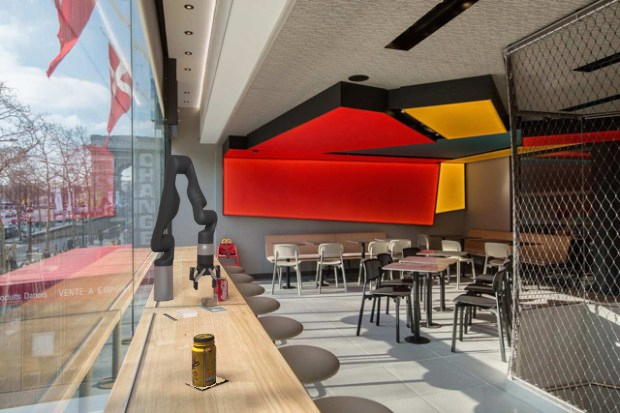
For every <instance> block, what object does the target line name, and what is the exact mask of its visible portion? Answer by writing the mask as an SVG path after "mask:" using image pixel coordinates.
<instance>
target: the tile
mask: <svg viewBox="0 0 620 413" xmlns="http://www.w3.org/2000/svg"><path fill="white" fill-rule="evenodd" d="M198 314H199V313H198V311H197V310H194V309H193V308H190V307H188V308H187V307H186V308H181V309H175V315H177V316H178V317H180V318H183V319H187V318H193V317H198V316H199V315H198Z"/></svg>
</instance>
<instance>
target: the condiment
mask: <svg viewBox="0 0 620 413" xmlns="http://www.w3.org/2000/svg"><path fill="white" fill-rule="evenodd" d="M192 341H193V346H192V348H191V381H192V385H193V386H196V387H206V386H211V385H213V384H215V383H216V375H217V346H216V345H215V343H216V341H215V335H214V334H213V333H199V334H196V335H195V336H193V338H192ZM216 384H217V383H216ZM218 385H220V383H218Z"/></svg>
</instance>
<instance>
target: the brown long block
mask: <svg viewBox="0 0 620 413" xmlns="http://www.w3.org/2000/svg"><path fill="white" fill-rule="evenodd" d="M201 305H202V306H204V307H207V308H209V310H211V311H220V310H224V309H225V308H224V307H222V306H220V305H218V301H217V300H214V299H213V298H211V297H208V296H205V297H204V296H203V297H201ZM220 312H221V311H220Z"/></svg>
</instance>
